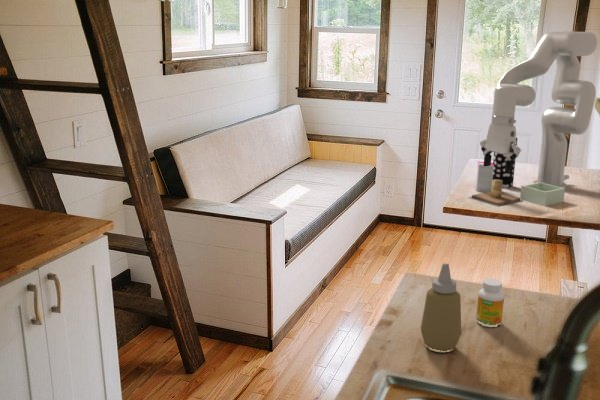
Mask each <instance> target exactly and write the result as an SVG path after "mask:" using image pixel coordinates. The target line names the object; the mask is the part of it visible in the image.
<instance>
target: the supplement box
mask: <svg viewBox="0 0 600 400" xmlns="http://www.w3.org/2000/svg"><path fill="white" fill-rule="evenodd" d="M476 168H477V169H476V177H475V186H474V189H475V192H481V193H486V192H491V189H492V179H493V170H494V165H493V161H491V165H490V166H484V161H477V167H476Z"/></svg>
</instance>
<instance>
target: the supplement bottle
mask: <svg viewBox="0 0 600 400" xmlns="http://www.w3.org/2000/svg"><path fill="white" fill-rule="evenodd" d="M502 288H503V282H502V281H501V280H499V279H496V278H485V279H483V281H482V288H481V289H479V291H478V295H477V305H476V306H477V308H476V316H475V319H476V318H477V320H478V321H480V322H482V323H484V324H489V325H496V324H499V323H501V324H502V322H501V321H503V311H504V303H505V293H504V291H502V290H503V289H502Z"/></svg>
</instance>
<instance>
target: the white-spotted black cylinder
mask: <svg viewBox="0 0 600 400" xmlns="http://www.w3.org/2000/svg"><path fill="white" fill-rule="evenodd" d="M518 139H519V138H518V137H516V145H517V146H518ZM513 154H514V153H513ZM509 155H510V154H509ZM492 157H493V159H492V163H493V165H494V170H493V179H492V180H495V179H497V180H502V181H503V182H502V189H504V188H505V189H508V188H512V187H513V186H514V176H515V168H516V167H515V166H516V160H517V158H515V160H514V161H513V168H512V171H505V165H506V160H508V159H507V157H506V155H505V154H500V153H496V152H493V156H492Z"/></svg>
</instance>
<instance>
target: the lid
mask: <svg viewBox="0 0 600 400" xmlns="http://www.w3.org/2000/svg"><path fill="white" fill-rule="evenodd" d="M502 182H503V181H502V180H497V179H495V180H492V188H491V192H481V193H477V194H472V195H471V197H472V198H474V199H477V200H481V201H484V202H487V203H491V204H494V205H497V206H498V205H503V204H507V203H512V202H516V201H520V200H521V199H520V197H517V196H514V195H510V194H507V193H503V192H502V190H503V188H502ZM474 199H473V200H474ZM477 200H476V201H477ZM484 202H483V203H484ZM487 203H486V204H487ZM494 205H493V206H494ZM497 206H496V207H497Z"/></svg>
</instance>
